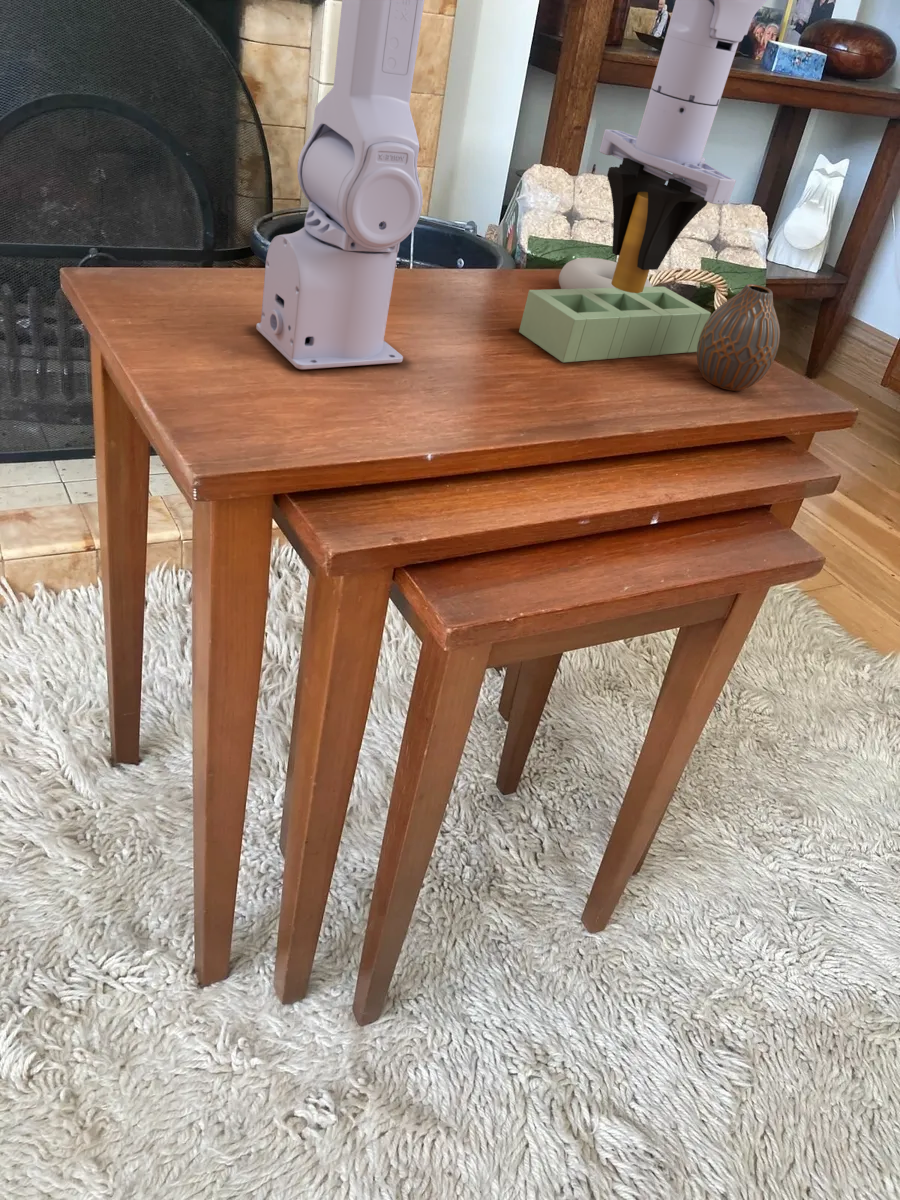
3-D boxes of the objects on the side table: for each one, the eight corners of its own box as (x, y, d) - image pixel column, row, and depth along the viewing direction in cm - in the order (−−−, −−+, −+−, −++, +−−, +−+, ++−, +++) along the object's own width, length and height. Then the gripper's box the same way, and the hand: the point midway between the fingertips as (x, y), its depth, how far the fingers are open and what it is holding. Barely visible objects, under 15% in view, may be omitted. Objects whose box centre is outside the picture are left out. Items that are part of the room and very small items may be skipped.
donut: (650, 329, 98) (644, 296, 106) (661, 296, 96) (654, 265, 104) (553, 307, 97) (555, 276, 105) (562, 274, 95) (563, 244, 103)
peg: (625, 293, 87) (653, 202, 82) (604, 281, 89) (630, 190, 84) (649, 292, 89) (677, 202, 84) (628, 280, 90) (654, 192, 86)
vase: (673, 365, 90) (705, 271, 85) (731, 365, 93) (765, 275, 88) (715, 398, 85) (752, 302, 80) (775, 398, 88) (814, 305, 83)
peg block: (562, 362, 85) (574, 319, 83) (518, 332, 89) (528, 289, 87) (697, 352, 94) (711, 312, 92) (651, 324, 99) (664, 286, 96)
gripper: (781, 124, 77) (721, 290, 85) (659, 79, 86) (615, 234, 94) (722, 117, 73) (665, 292, 81) (601, 71, 82) (560, 233, 90)
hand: (634, 261), depth 87 cm, fingers closed on peg, 3 cm apart
